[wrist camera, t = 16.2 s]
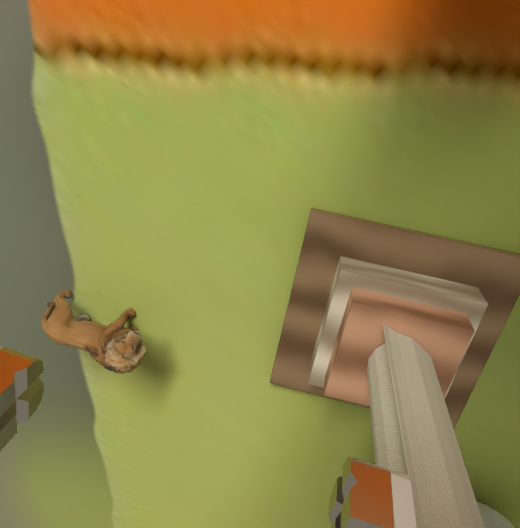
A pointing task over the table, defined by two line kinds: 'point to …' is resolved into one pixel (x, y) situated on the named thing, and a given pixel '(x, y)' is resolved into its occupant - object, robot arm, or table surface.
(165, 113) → the table surface
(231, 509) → the table surface
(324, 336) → the brown square stepped pedestal
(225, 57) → the table surface
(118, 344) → the lion figurine
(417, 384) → the paper towel roll
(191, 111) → the table surface
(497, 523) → the cereal bowl
